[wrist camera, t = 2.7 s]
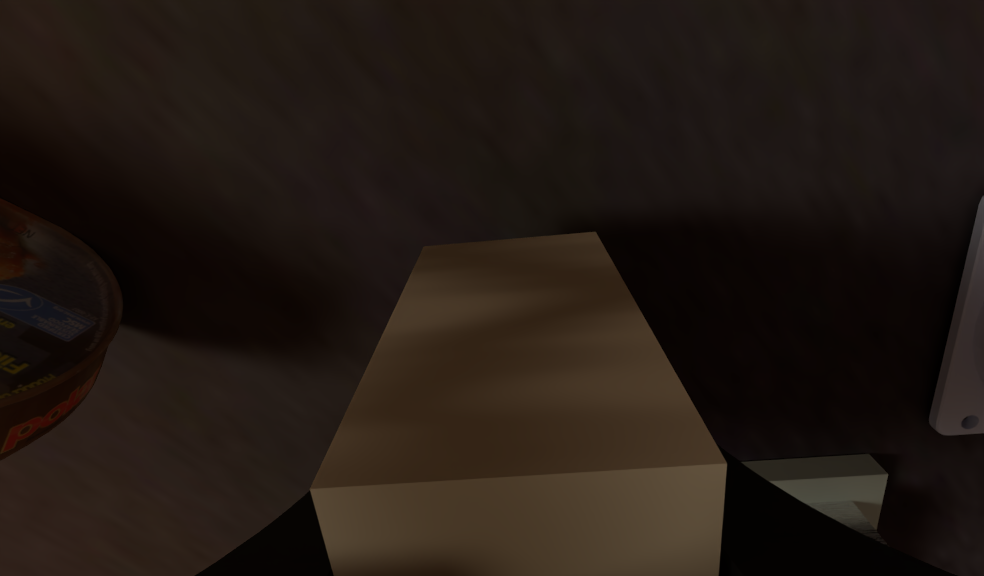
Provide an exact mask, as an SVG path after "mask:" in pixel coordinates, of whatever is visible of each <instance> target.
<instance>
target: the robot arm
mask: <svg viewBox="0 0 984 576" xmlns="http://www.w3.org/2000/svg"><path fill="white" fill-rule="evenodd" d="M967 416H968V417H967ZM966 417H967V418H966ZM964 418H966V419H964ZM963 419H964V420H963ZM962 420H963V421H962ZM929 423H930V425H931V427H932V428H934V429H935V430H936V431H937V432H939V433H940V434H942V435H964V434H980V433H984V196H983V197H982V199H981V201H980V203H979V207H978V211H977V215H976V219H975V224H974V228H973V232H972V237H971V241H970V245H969V249H968V254H967V258H966V262H965V266H964V271H963V275H962V279H961V283H960V288H959V292H958V296H957V301H956V305H955V309H954V313H953V318H952V322H951V326H950V330H949V335H948V339H947V343H946V347H945V352H944V356H943V360H942V365H941V369H940V373H939V377H938V382H937V386H936V390H935V394H934V399H933V403H932V407H931V411H930V416H929ZM716 445H717V444H716ZM717 447H718V448H719V450H720V452H721V454H722V455H723V457H724V459H725V461H726V462H727V471H726V484H725V498H724V511H723V524H722V537H721V551H720V564H719V576H957V575H954V574H952V573H949V572H946V571H944V570H942V569H939V568H937V567H934V566H932V565H930V564H928V563H925V562H923V561H921V560H918V559H916V558H914V557H912V556H909V555H907V554H905V553H902V552H900V551H898V550H896V549H893V548H891V547H889V546H887V545H885V544H883V543H880V542H878V541H876V540H874V539H872V538H870V537H868V536H866V535H864V534H862V533H860V532H858V531H856V530H854V529H852V528H850V527H848V526H846V525H844V524H842V523H840V522H838V521H837V520H835V519H833V518H831V517H829V516H827V515H825V514H823V513H821V512H819V511H818V510H816V509H814V508H812V507H811V506H809V505H807V504H805V503H803V502H802V501H800V500H798V499H797V498H795V497H793V496H792V495H790V494H789V493H787V492H785V491H784V490H782V489H781V488H779V487H777V486H776V485H774V484H772V483H771V482H769V481H768V480H766V479H765V478H763V477H762V476H760V475H759V474H757V473H756V472H754V471H753V470H751V469H750V468H748V467H747V466H746V465H744V464H743V463H741V462H740V461H739V460H737V459H736V458H735V457H733V456H732V455H730V454H729V453H728V452H726V451H725V450H724V449H722V448H721V447H720V446H719V445H717ZM195 576H334V575H333V571H332V568H331V564H330V561H329V557H328V553H327V550H326V546H325V542H324V539H323V535H322V531H321V528H320V524H319V520H318V517H317V513H316V510H315V506H314V502H313V499H312V495H311V491H309V492H308V493H307V494H306V495H305V496H303V497H302V498H301V499H300V500H299V501H298V502H296V503H295V504H294V505H293V506H292V507H291V508H289V509H288V510H287V511H286V512H284V513H283V514H282V515H281V516H279V517H278V518H277V519H276V520H274V521H273V522H272V523H271V524H269V525H268V526H267V527H265V528H264V529H263V530H261V531H260V532H259V533H257V534H256V535H254V536H253V537H251V538H250V539H249V540H247V541H246V542H244V543H243V544H241V545H240V546H239V547H237V548H236V549H234V550H233V551H231V552H230V553H229V554H227V555H226V556H224V557H223V558H221V559H220V560H218V561H217V562H216V563H214V564H213V565H211V566H209V567H208V568H206V569H205V570H203V571H202V572H200V573H198V574H197V575H195Z"/></svg>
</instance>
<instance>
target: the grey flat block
mask: <svg viewBox="0 0 984 576" xmlns="http://www.w3.org/2000/svg"><path fill="white" fill-rule="evenodd" d="M741 463H743V464H744V465H746V466H747V467H748V468H750V469H751V470H753V471H754V472H756V473H757V474H759V475H760V476H762V477H763V478H765V479H766V480H768V481H769V482H771V483H772V484H774V485H776V486H777V487H779V488H781V489H782V490H784V491H785V492H787V493H789V494H790V495H792V496H793V497H795V498H797V499H798V500H800V501H802V502H803V503H805V504H807V505H809V506H811V507H812V508H814V509H816V510H818V511H819V512H821V513H823V514H825V515H827V516H829V517H831V518H833V519H835V520H837V521H838V522H840V523H842V524H844V525H846V526H848V527H850V528H852V529H854V530H856V531H858V532H860V533H862V534H864V535H866V536H868V537H870V538H872V539H874V540H876V541H878V542H880V543H883V544H885V545H887V543H886V542H885V541H884V540H883V538H882V537H881V536H880V535H879V534H878V532H877V531H876V530H877V525H878V520H879V516H880V511H881V506H882V501H883V497H884V492H885V487H886V482H887V478H888V473H887V472H886V471H885V470H884V469H883V468H882V467H881V466H880V465H879V464H878V463H877V462H876V461H875V460H874V459H873V458H872V457H871V456H870V455H869V454H859V455H843V456H827V457H811V458H796V459H780V460H764V461H748V462H741ZM887 546H888V545H887Z"/></svg>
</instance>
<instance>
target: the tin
mask: <svg viewBox="0 0 984 576" xmlns="http://www.w3.org/2000/svg"><path fill="white" fill-rule="evenodd" d="M122 311H123V298H122V292H121V290H120V286H119V284H118V282H117V280H116V278H115V276H114V274H113V272H112V271H111V269H110V268H109V266H108V265H107V264H106V263H105V262H104V260H103V259H102V258H101V257H100V256H99V255H98V254H97V253H96V252H95V251H94V250H93V249H92V248H90V247H89V246H88V245H87V244H85V243H84V242H83V241H81V240H80V239H79V238H77V237H75V236H74V235H73V234H71V233H70V232H68V231H66V230H64V229H63V228H61V227H59V226H57V225H55V224H53V223H51V222H49V221H47V220H45V219H43V218H41V217H39V216H37V215H35V214H33V213H31V212H28V211H26V210H24V209H22V208H20V207H18V206H16V205H14V204H12V203H10V202H8V201H5V200H3V199H1V198H0V460H2V459H4V458H6V457H8V456H9V455H11V454H13V453H15V452H16V451H18V450H20V449H22V448H23V447H25V446H27V445H29V444H30V443H32V442H33V441H35V440H37V439H38V438H40V437H41V436H43V435H44V434H46V433H48V432H49V431H50V430H52V429H53V428H54V427H56V426H57V425H58V424H60V423H61V422H62V421H64V420H65V419H66V418H67V417H68V416H69V415H70V414H71V413H72V412H73V411H74V410H75V409H76V408H77V407H78V406H79V405H80V404H81V402H82V401H83V400H84V399H85V397H86V396H87V394H88V393H89V392H90V390H91V389H92V387H93V385H94V383H95V381H96V379H97V376H98V374H99V372H100V369H101V367H102V364H103V361H104V357H105V354H106V351H107V348H108V345H109V344H110V342H111V341H112V340H113V338H114V336H115V334H116V333H117V330H118V328H119V325H120V322H121V319H122Z"/></svg>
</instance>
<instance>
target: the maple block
mask: <svg viewBox="0 0 984 576" xmlns="http://www.w3.org/2000/svg"><path fill="white" fill-rule="evenodd" d="M726 471H727V462H726V461H725V459H724V457H723V455H722V454H721V452H720V450H719V448H718V447H717V445H716V443H715V441H714V440H713V438H712V436H711V434H710V432H709V431H708V429H707V427H706V425H705V424H704V422H703V420H702V418H701V417H700V415H699V413H698V411H697V410H696V408H695V406H694V404H693V403H692V401H691V399H690V397H689V395H688V394H687V392H686V390H685V388H684V387H683V385H682V383H681V381H680V380H679V378H678V376H677V374H676V373H675V371H674V369H673V367H672V366H671V364H670V362H669V360H668V358H667V357H666V355H665V353H664V351H663V350H662V348H661V346H660V344H659V343H658V341H657V339H656V337H655V336H654V334H653V332H652V330H651V328H650V327H649V325H648V323H647V321H646V320H645V318H644V316H643V314H642V313H641V311H640V309H639V307H638V306H637V304H636V302H635V300H634V299H633V297H632V295H631V293H630V291H629V290H628V288H627V286H626V284H625V283H624V281H623V279H622V277H621V276H620V274H619V272H618V270H617V269H616V267H615V265H614V263H613V262H612V260H611V258H610V256H609V254H608V253H607V251H606V249H605V247H604V246H603V244H602V242H601V240H600V239H599V237H598V235H597V233H596V232H586V233H575V234H563V235H552V236H540V237H528V238H517V239H505V240H494V241H482V242H470V243H459V244H447V245H436V246H424V247H423V250H422V252H421V254H420V256H419V258H418V260H417V262H416V264H415V267H414V269H413V271H412V273H411V275H410V277H409V279H408V281H407V284H406V286H405V288H404V290H403V292H402V294H401V296H400V298H399V301H398V303H397V305H396V307H395V309H394V311H393V313H392V315H391V318H390V320H389V322H388V324H387V326H386V328H385V330H384V332H383V335H382V337H381V339H380V341H379V343H378V345H377V347H376V349H375V352H374V354H373V356H372V358H371V360H370V362H369V364H368V367H367V369H366V371H365V373H364V375H363V377H362V379H361V381H360V384H359V386H358V388H357V390H356V392H355V394H354V396H353V398H352V401H351V403H350V405H349V407H348V409H347V411H346V413H345V415H344V418H343V420H342V422H341V424H340V426H339V428H338V430H337V432H336V435H335V437H334V439H333V441H332V443H331V445H330V447H329V449H328V452H327V454H326V456H325V458H324V460H323V462H322V464H321V466H320V469H319V471H318V473H317V475H316V477H315V479H314V481H313V483H312V486H311V488H310V491H311V495H312V499H313V502H314V506H315V510H316V513H317V517H318V520H319V524H320V528H321V531H322V535H323V539H324V542H325V546H326V550H327V553H328V557H329V561H330V564H331V568H332V571H333V575H334V576H719V564H720V551H721V537H722V524H723V511H724V498H725V484H726Z"/></svg>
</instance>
